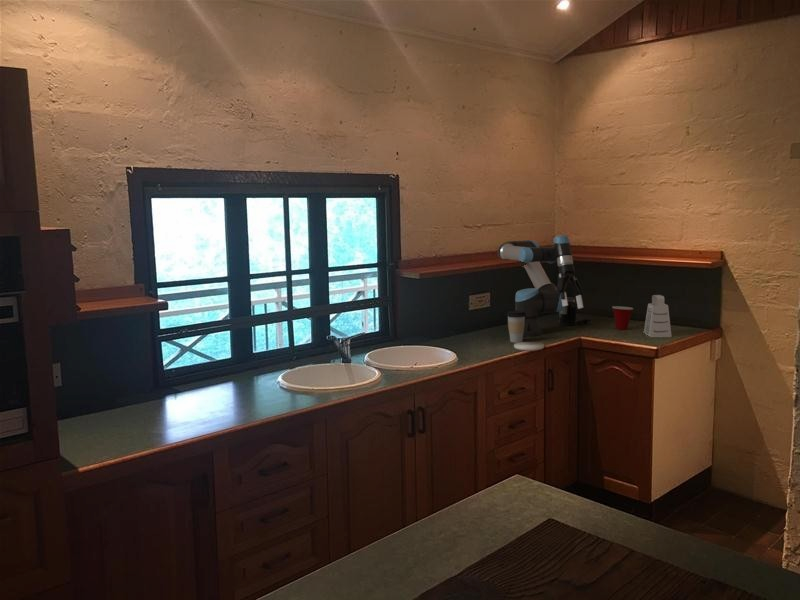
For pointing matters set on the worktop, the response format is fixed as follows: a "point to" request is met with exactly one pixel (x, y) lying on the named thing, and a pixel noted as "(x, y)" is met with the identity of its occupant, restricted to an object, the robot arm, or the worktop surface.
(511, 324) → the coffee cup
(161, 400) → the worktop surface
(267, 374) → the worktop surface
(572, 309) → the milk frother
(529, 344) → the saucer
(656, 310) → the grater
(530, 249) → the robot arm
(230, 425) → the worktop surface
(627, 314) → the plastic cup
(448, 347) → the worktop surface
